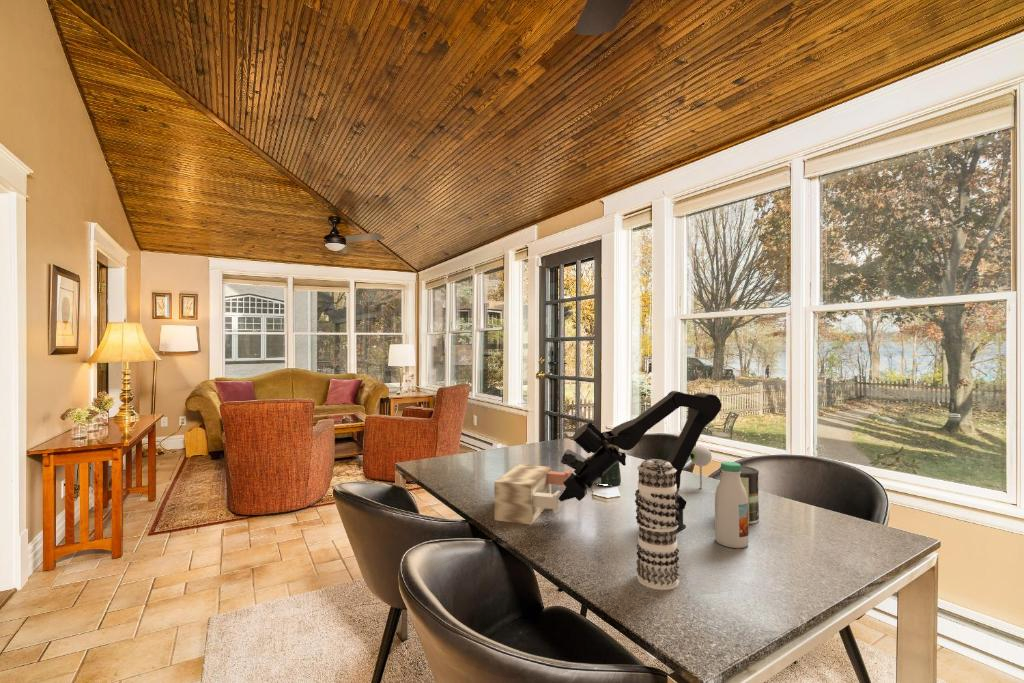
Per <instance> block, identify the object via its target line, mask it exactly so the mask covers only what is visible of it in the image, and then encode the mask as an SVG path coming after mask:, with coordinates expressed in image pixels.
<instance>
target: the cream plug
mask: <svg viewBox="0 0 1024 683" xmlns="http://www.w3.org/2000/svg"><path fill="white" fill-rule="evenodd" d="M561 494H562V491H561V490H556V492H554V493H551V494H549V493H539V492H535V493H534V494H533V507H540V508H545V509H551V510H552V513H553V514H557V513H558V512H559V511H560V510H561V502H562V501H560V500H559V497H560V496H561Z"/></svg>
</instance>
